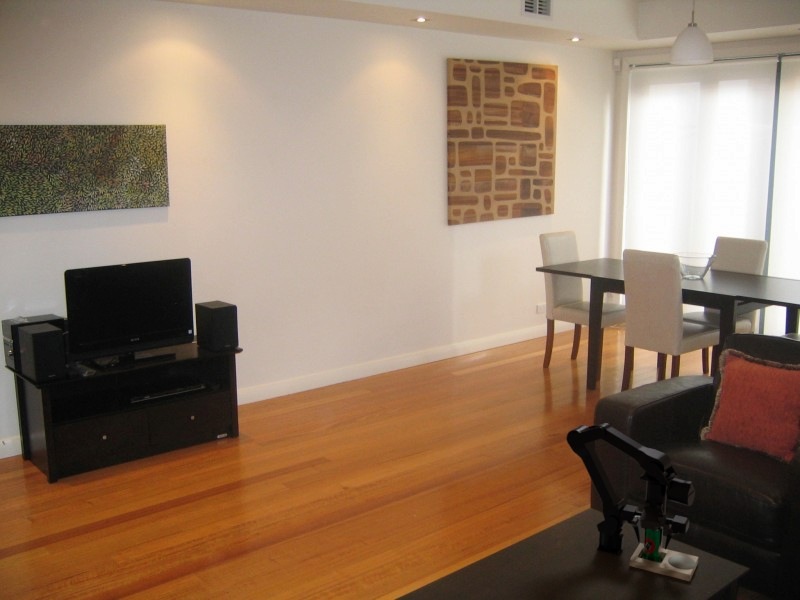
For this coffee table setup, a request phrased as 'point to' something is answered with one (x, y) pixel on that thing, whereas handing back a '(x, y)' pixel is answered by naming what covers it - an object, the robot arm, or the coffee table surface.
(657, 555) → the soda can
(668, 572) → the pocket board
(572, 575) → the coffee table surface
